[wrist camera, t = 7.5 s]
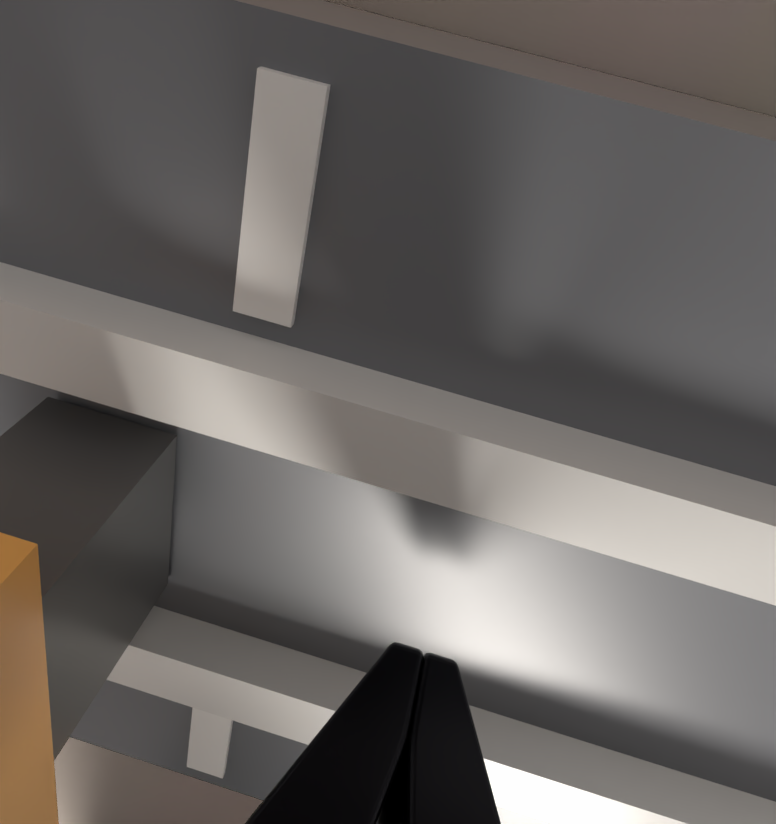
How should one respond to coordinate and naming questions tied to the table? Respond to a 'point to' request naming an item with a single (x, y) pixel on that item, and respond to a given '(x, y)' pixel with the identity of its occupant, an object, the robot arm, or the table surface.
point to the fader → (71, 578)
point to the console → (412, 387)
